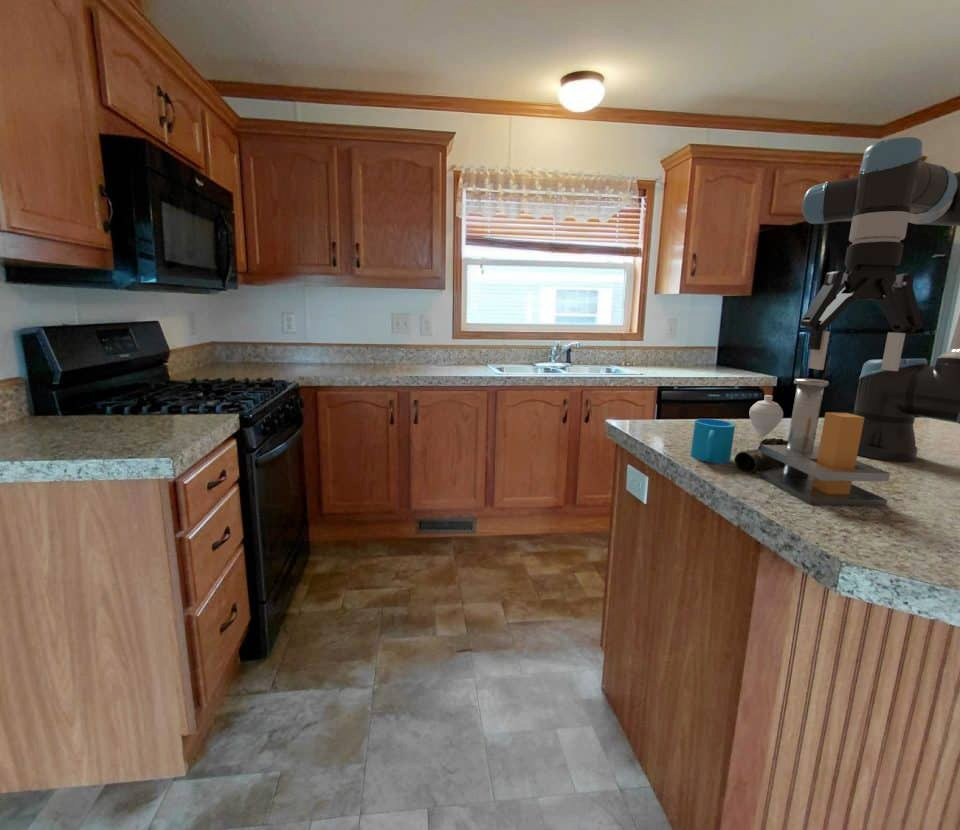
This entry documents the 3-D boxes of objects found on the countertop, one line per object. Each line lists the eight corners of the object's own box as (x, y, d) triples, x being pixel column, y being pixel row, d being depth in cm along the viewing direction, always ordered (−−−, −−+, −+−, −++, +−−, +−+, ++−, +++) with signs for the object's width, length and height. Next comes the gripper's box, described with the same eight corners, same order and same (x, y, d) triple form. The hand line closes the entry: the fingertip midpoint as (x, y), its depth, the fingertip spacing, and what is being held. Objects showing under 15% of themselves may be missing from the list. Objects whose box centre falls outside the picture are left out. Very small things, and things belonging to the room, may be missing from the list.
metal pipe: (754, 476, 103) (758, 449, 102) (724, 467, 108) (727, 441, 107) (804, 466, 111) (808, 441, 110) (774, 458, 117) (777, 434, 116)
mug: (692, 451, 120) (696, 417, 118) (730, 456, 116) (735, 422, 114) (686, 463, 109) (690, 426, 108) (728, 470, 105) (733, 432, 104)
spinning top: (785, 444, 129) (793, 397, 127) (760, 444, 128) (767, 398, 125) (763, 436, 137) (770, 392, 134) (738, 437, 135) (745, 392, 132)
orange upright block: (833, 486, 94) (846, 412, 91) (849, 494, 90) (864, 417, 87) (812, 486, 94) (825, 412, 91) (827, 493, 90) (842, 416, 87)
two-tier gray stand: (817, 474, 105) (834, 379, 101) (888, 506, 88) (912, 393, 84) (752, 472, 104) (766, 377, 100) (811, 505, 87) (831, 391, 83)
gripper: (925, 247, 89) (901, 368, 93) (789, 243, 87) (771, 365, 92) (967, 242, 82) (939, 373, 86) (820, 237, 80) (799, 371, 84)
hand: (852, 369), depth 89 cm, fingers open, 13 cm apart
